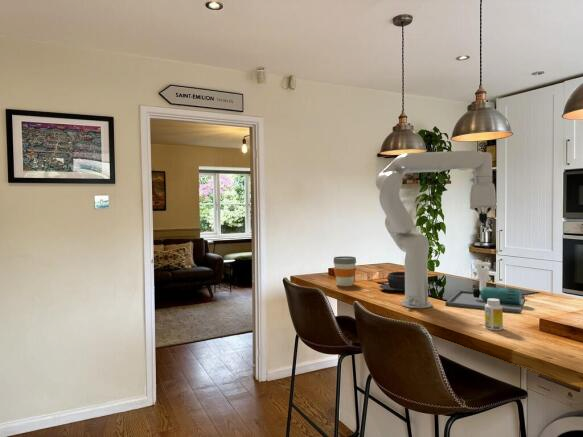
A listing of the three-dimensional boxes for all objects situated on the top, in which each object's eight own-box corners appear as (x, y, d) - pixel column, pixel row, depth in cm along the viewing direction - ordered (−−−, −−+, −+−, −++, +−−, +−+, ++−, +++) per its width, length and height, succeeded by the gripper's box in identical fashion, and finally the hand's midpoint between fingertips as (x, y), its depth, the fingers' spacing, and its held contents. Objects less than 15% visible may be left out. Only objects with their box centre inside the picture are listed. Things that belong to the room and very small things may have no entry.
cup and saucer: (416, 285, 225) (416, 269, 224) (435, 292, 206) (435, 275, 206) (373, 288, 219) (373, 272, 219) (388, 295, 201) (388, 278, 201)
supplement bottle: (504, 328, 145) (504, 299, 145) (499, 332, 141) (499, 302, 141) (488, 325, 149) (487, 297, 148) (482, 329, 145) (482, 299, 144)
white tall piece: (479, 288, 212) (478, 259, 212) (493, 290, 207) (492, 260, 206) (472, 290, 208) (472, 260, 207) (486, 292, 202) (486, 261, 202)
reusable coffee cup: (344, 281, 240) (344, 255, 239) (361, 284, 230) (360, 257, 230) (329, 284, 232) (328, 257, 231) (345, 287, 222) (345, 259, 222)
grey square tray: (519, 313, 163) (519, 309, 163) (445, 305, 179) (445, 302, 179) (524, 299, 187) (524, 295, 187) (458, 293, 202) (458, 290, 202)
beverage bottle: (522, 302, 170) (471, 296, 182) (524, 308, 175) (474, 302, 187) (524, 287, 173) (473, 282, 185) (526, 293, 177) (476, 288, 189)
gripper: (463, 181, 183) (463, 223, 184) (500, 179, 175) (501, 223, 176) (466, 182, 190) (466, 222, 190) (502, 180, 182) (503, 222, 182)
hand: (483, 222), depth 183 cm, fingers closed
